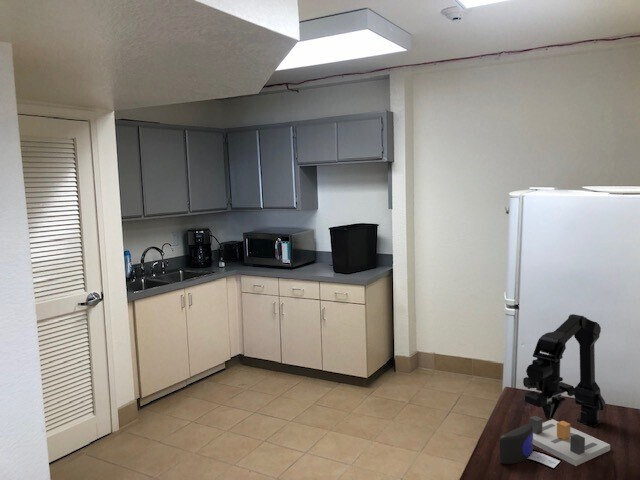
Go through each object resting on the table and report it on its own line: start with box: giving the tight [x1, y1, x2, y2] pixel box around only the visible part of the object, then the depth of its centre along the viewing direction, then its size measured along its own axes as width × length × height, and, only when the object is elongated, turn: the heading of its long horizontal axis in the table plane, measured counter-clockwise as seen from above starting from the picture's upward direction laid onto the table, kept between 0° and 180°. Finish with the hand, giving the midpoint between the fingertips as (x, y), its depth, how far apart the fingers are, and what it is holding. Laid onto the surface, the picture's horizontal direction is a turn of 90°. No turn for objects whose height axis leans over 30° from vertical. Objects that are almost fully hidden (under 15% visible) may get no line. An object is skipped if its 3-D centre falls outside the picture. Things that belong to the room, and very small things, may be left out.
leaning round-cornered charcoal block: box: [498, 423, 534, 465], centre depth 171 cm, size 16×5×9 cm, turn 123°
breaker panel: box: [529, 415, 611, 467], centre depth 179 cm, size 18×22×7 cm
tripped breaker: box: [557, 420, 571, 440], centre depth 179 cm, size 3×3×5 cm
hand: (549, 418), depth 175 cm, fingers closed
